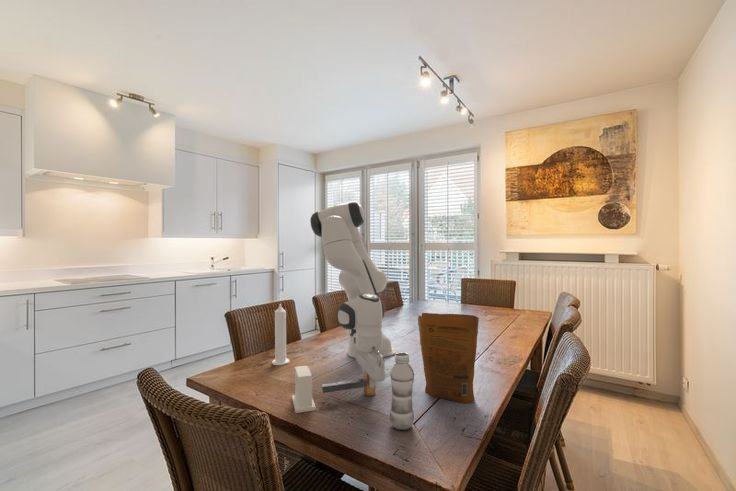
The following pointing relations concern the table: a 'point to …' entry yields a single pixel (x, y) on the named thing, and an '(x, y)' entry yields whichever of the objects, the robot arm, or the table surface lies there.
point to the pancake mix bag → (449, 354)
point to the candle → (280, 337)
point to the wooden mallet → (350, 385)
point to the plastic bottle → (402, 393)
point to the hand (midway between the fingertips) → (369, 384)
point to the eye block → (303, 390)
